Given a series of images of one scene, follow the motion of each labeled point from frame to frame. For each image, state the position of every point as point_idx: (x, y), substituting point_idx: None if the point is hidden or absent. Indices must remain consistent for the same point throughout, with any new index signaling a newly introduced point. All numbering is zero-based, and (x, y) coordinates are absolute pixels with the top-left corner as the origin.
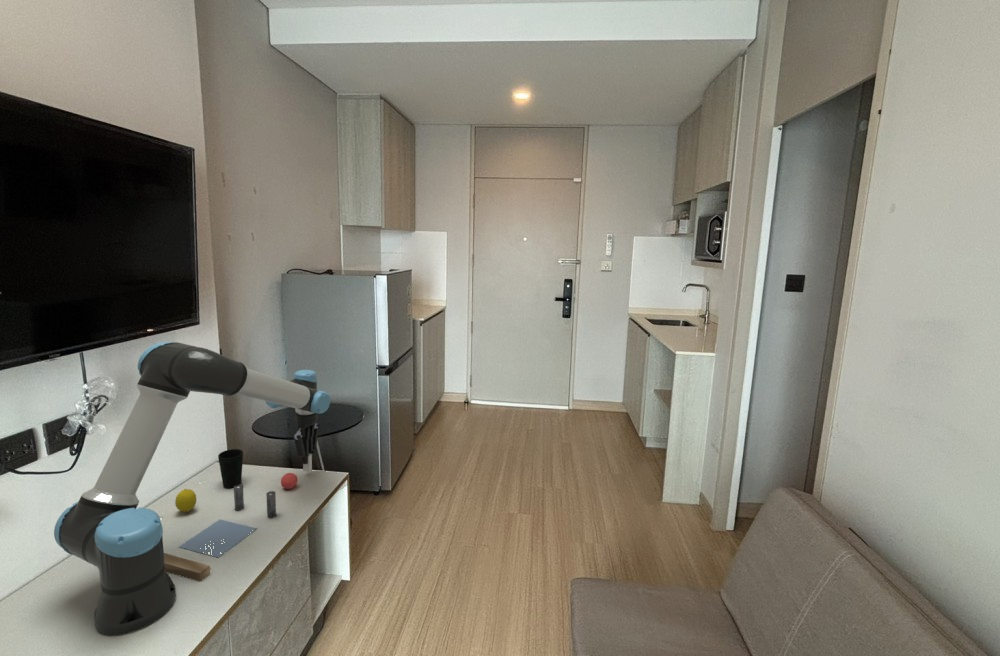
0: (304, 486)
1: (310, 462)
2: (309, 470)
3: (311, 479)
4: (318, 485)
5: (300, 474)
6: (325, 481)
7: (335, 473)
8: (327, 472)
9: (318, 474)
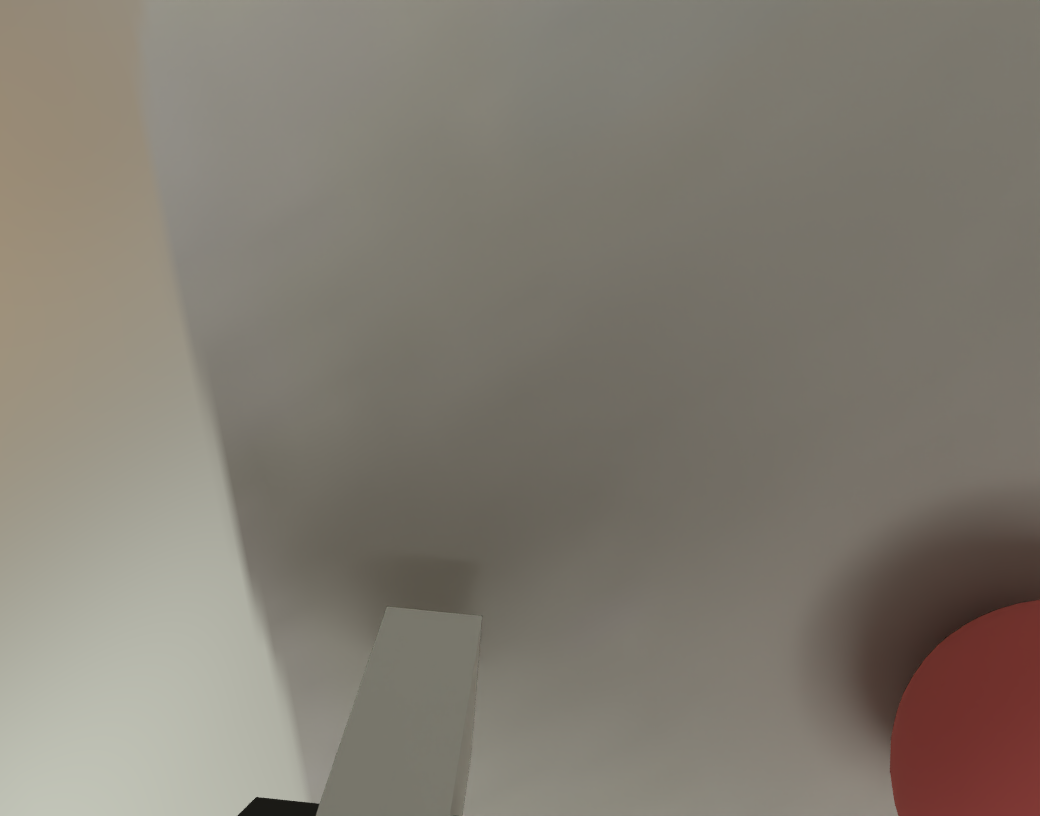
0: (907, 438)
1: (395, 772)
2: (474, 634)
3: (591, 455)
4: (817, 160)
5: None
6: (598, 96)
7: (162, 65)
8: (197, 285)
9: (350, 428)
